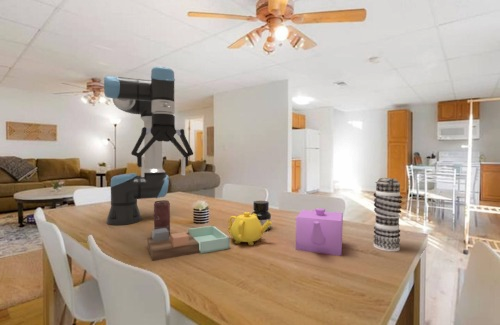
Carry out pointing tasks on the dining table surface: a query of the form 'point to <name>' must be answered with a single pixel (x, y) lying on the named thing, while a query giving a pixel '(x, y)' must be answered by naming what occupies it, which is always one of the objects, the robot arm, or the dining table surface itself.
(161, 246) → the plate
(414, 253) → the dining table surface
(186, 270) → the dining table surface
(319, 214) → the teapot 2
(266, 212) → the ink bottle
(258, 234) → the teapot
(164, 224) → the can
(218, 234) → the tray
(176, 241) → the terracotta tile
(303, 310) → the dining table surface
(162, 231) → the grey square block
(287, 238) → the dining table surface
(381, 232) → the decorative candle
